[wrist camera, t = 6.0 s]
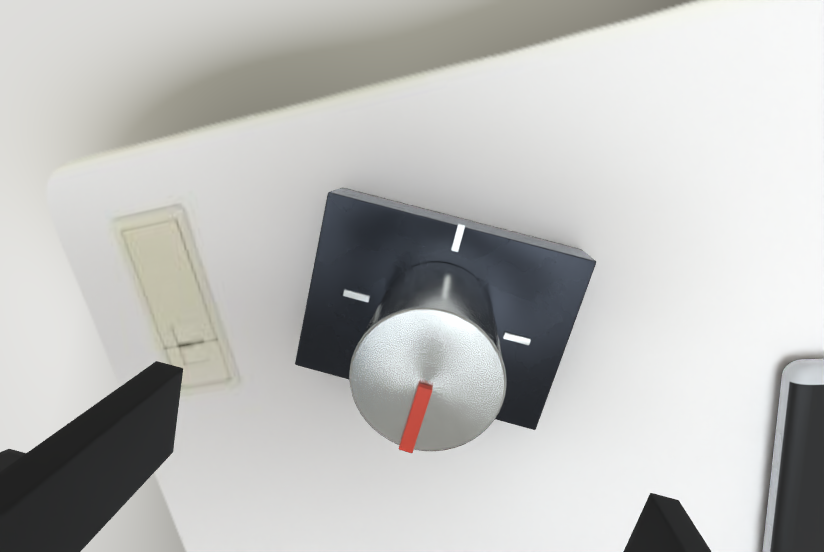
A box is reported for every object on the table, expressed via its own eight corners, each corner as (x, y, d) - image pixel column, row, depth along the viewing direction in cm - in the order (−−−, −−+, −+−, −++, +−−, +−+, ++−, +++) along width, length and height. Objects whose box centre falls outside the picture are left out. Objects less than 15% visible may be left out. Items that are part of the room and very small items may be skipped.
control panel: (310, 345, 30) (293, 367, 27) (342, 185, 27) (327, 189, 24) (527, 404, 29) (535, 433, 26) (582, 247, 27) (598, 260, 24)
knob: (396, 247, 25) (368, 290, 17) (508, 280, 24) (529, 338, 17) (368, 350, 26) (331, 430, 19) (473, 381, 26) (478, 475, 18)
